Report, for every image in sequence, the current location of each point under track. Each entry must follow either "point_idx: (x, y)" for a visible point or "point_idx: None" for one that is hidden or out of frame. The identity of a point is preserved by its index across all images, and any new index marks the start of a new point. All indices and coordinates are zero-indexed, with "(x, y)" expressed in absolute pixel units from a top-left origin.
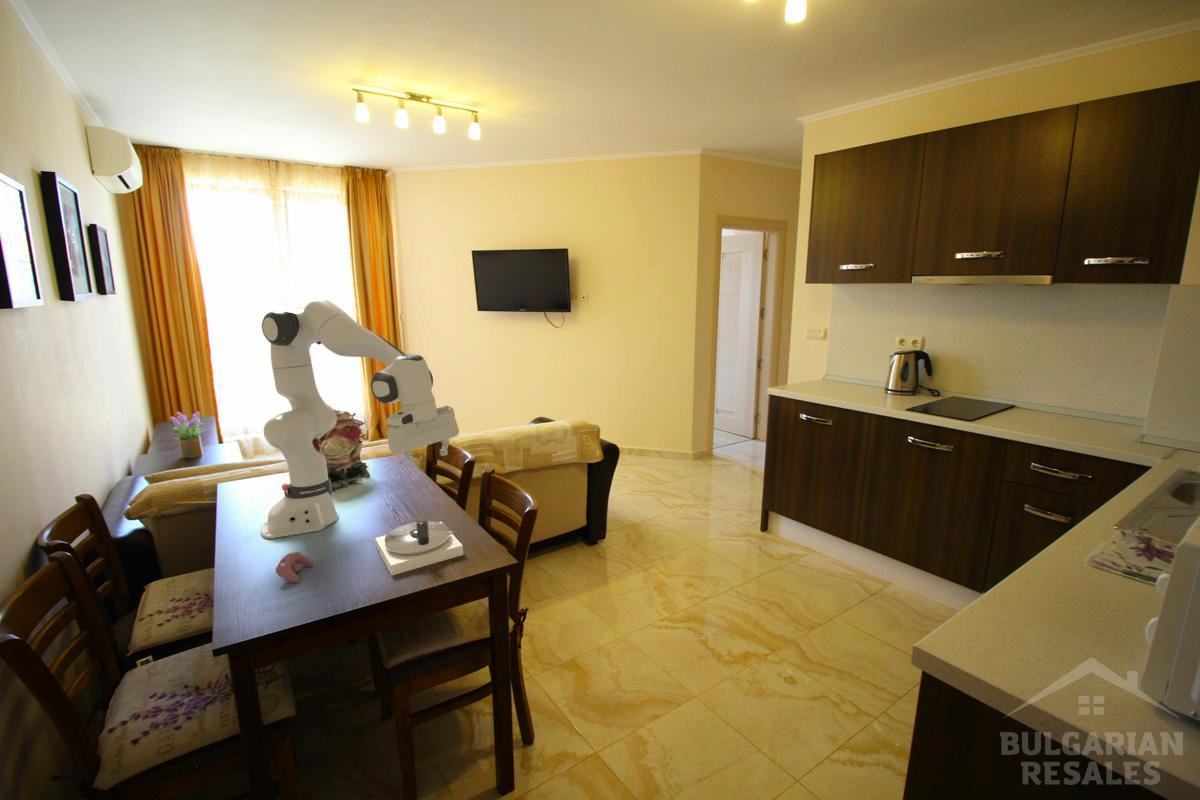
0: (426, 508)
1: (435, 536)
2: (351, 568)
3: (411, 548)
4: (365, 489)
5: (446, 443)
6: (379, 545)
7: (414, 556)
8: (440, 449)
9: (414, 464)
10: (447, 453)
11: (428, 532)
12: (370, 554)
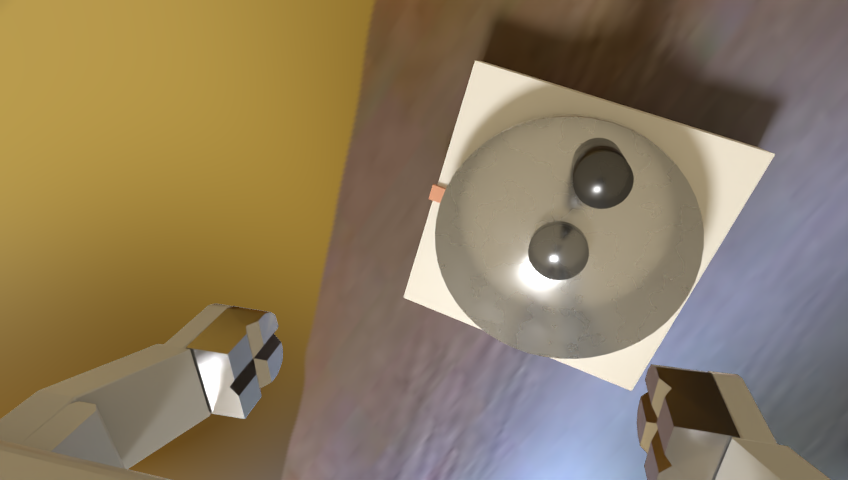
0: (356, 435)
1: (527, 169)
2: (793, 318)
3: (667, 157)
4: None
5: (91, 400)
6: (666, 332)
7: (658, 140)
8: (229, 413)
9: (727, 379)
10: (211, 305)
11: (578, 155)
12: (675, 344)
